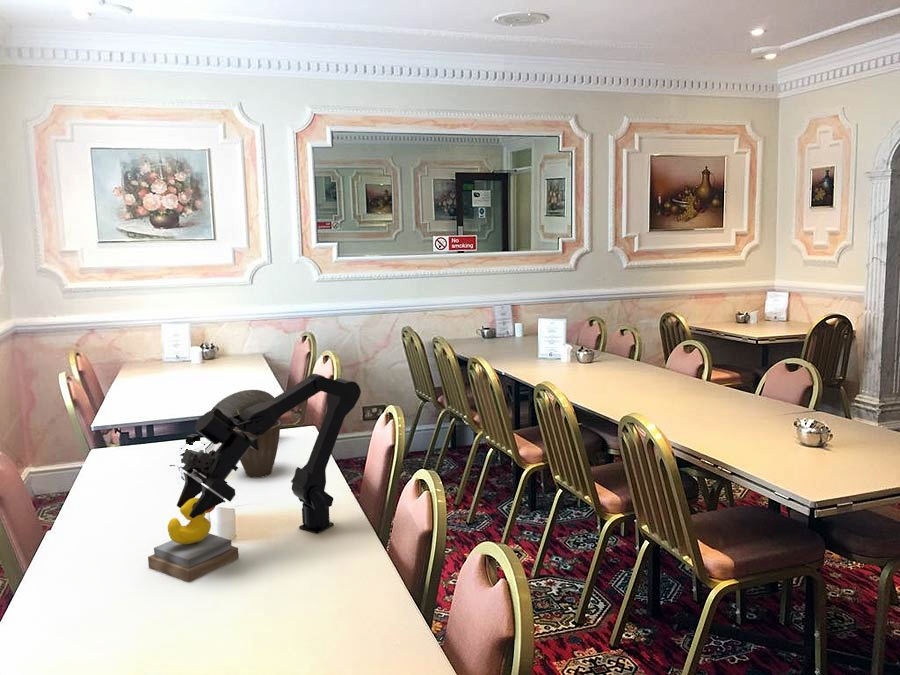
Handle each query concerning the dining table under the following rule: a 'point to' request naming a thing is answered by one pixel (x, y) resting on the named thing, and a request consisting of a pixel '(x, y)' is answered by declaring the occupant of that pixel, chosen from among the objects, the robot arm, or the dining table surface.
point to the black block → (192, 438)
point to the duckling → (189, 525)
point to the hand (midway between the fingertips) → (184, 511)
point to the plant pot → (261, 453)
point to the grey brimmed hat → (242, 401)
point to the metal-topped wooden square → (193, 557)
